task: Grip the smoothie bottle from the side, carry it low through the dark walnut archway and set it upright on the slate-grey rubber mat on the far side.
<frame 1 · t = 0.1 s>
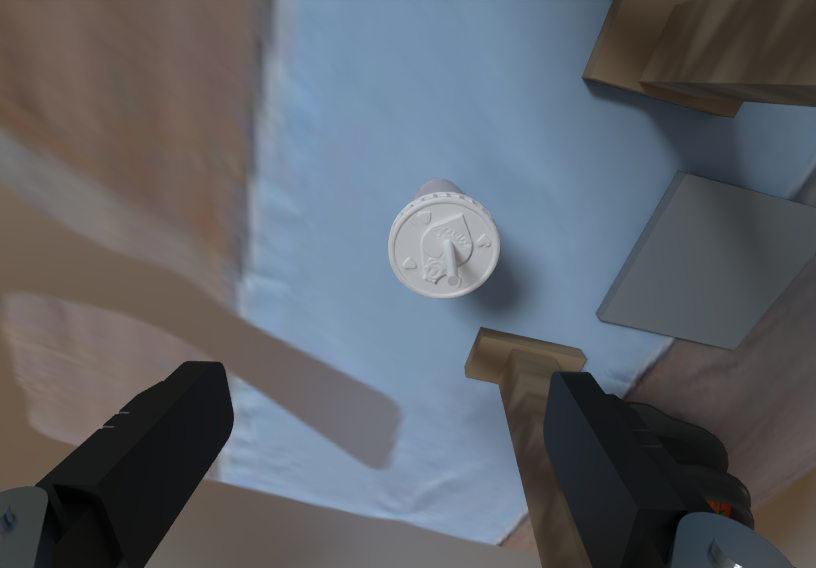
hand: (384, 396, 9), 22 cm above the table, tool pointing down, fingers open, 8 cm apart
smoothie: (438, 201, 30), on the table
archway: (581, 237, 31), on the table
casserole: (627, 461, 44), on the table
mat: (705, 267, 31), on the table
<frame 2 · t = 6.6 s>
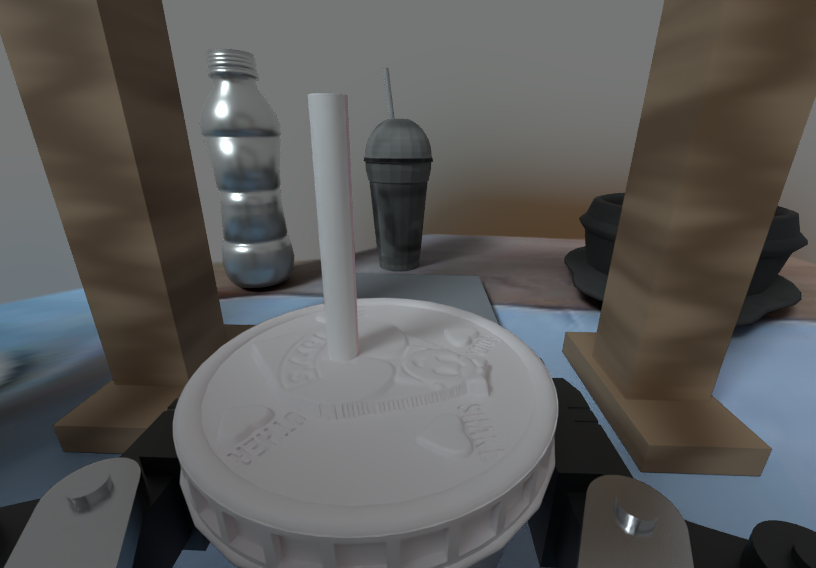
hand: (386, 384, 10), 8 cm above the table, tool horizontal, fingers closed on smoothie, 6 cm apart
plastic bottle: (263, 285, 38), on the table
archway: (405, 392, 21), on the table
casserole: (661, 290, 37), on the table
beverage cup: (399, 266, 44), on the table
mat: (410, 311, 32), on the table
when the fingers open (10 cm above the table, at t = 12.7 s): smoothie moves 2 cm, resting on mat.
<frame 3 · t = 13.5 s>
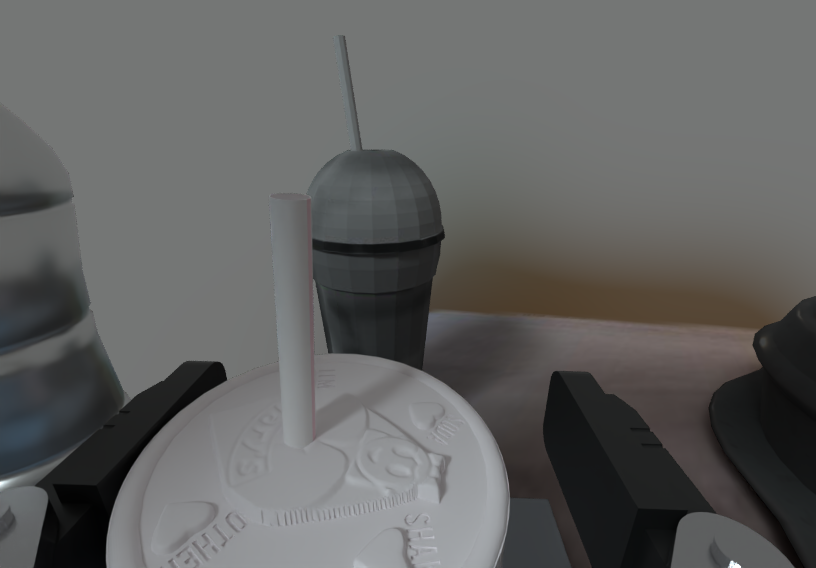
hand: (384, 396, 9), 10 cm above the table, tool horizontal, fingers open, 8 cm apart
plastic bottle: (77, 511, 17), on the table
beverage cup: (379, 418, 23), on the table
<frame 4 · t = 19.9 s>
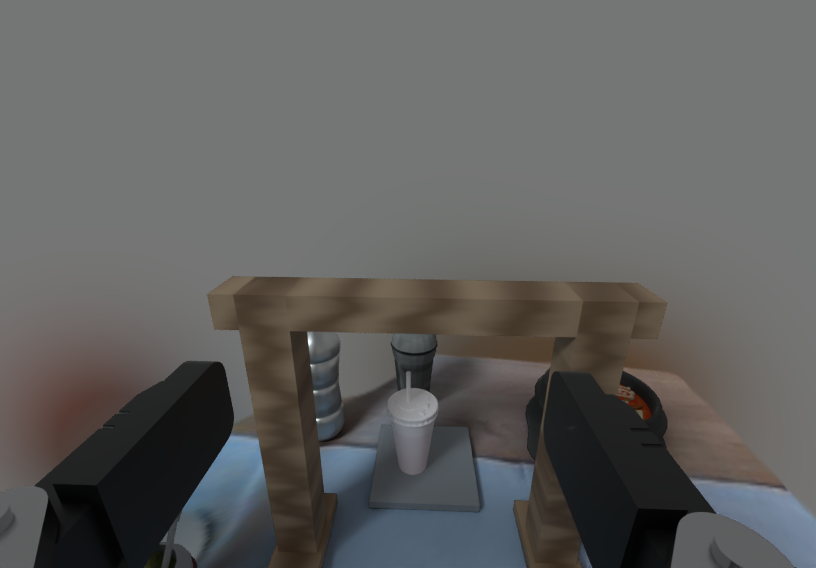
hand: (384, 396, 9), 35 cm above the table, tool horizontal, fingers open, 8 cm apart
smoothie: (412, 464, 50), point 1 cm above the table, touching mat
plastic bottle: (324, 431, 57), on the table
archway: (424, 548, 40), on the table
casserole: (589, 436, 56), on the table
beverage cup: (413, 404, 63), on the table
mat: (424, 465, 51), on the table
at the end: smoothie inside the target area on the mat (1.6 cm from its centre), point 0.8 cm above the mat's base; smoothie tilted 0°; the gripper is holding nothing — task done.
